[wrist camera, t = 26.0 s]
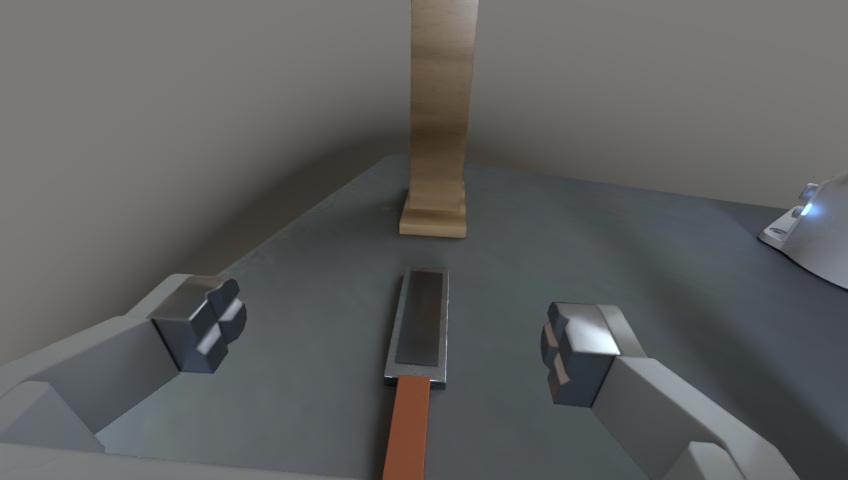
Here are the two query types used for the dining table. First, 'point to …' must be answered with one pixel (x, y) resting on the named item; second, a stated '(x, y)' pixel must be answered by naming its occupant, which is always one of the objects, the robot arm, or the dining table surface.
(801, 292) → the dining table surface
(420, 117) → the shelf stand
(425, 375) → the grater
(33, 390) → the robot arm
